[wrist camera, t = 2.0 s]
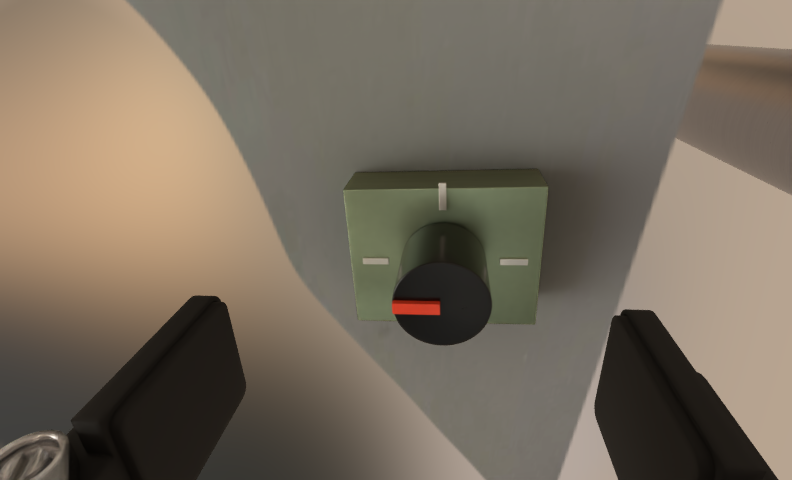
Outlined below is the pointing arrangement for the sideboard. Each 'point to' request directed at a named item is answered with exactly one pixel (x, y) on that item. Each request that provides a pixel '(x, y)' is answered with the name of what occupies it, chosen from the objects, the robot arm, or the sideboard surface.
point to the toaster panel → (455, 204)
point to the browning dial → (442, 285)
